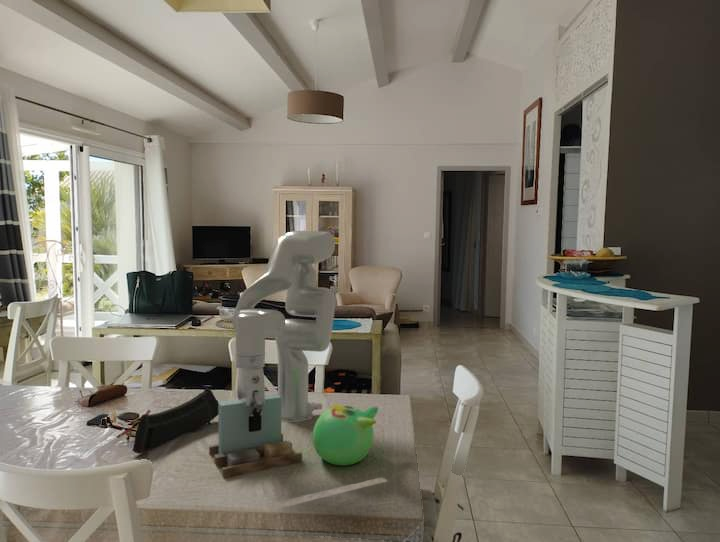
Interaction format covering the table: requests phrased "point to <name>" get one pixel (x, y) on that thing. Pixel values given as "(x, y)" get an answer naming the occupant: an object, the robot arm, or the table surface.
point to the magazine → (175, 422)
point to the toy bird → (344, 434)
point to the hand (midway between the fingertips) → (249, 425)
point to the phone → (97, 420)
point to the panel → (237, 420)
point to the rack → (254, 466)
